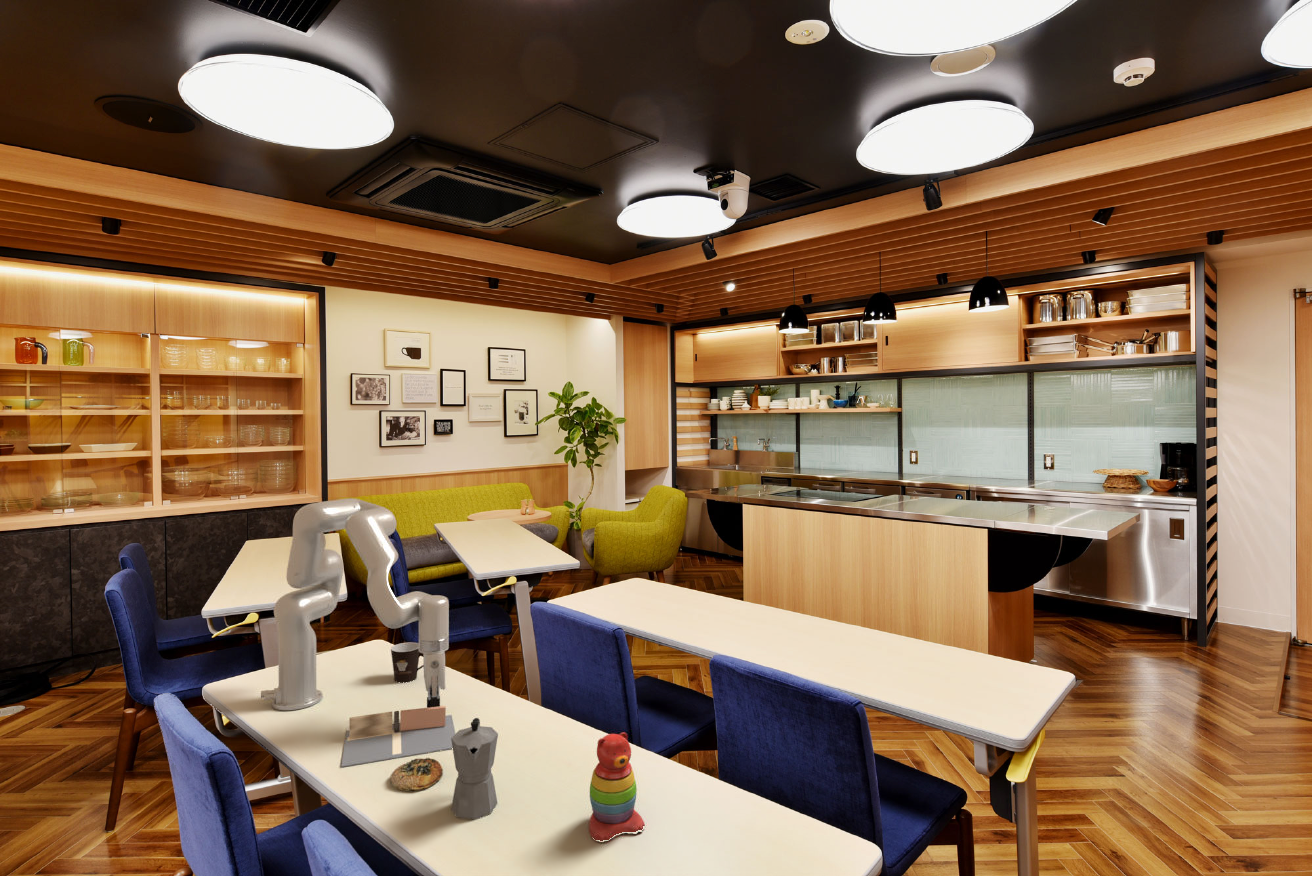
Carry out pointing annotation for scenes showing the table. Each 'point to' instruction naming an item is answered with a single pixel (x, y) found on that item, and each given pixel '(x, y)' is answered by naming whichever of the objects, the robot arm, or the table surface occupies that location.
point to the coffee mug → (405, 661)
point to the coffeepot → (474, 771)
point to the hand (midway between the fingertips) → (433, 712)
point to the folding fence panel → (422, 718)
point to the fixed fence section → (373, 725)
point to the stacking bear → (613, 790)
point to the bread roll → (417, 774)
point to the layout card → (397, 744)
